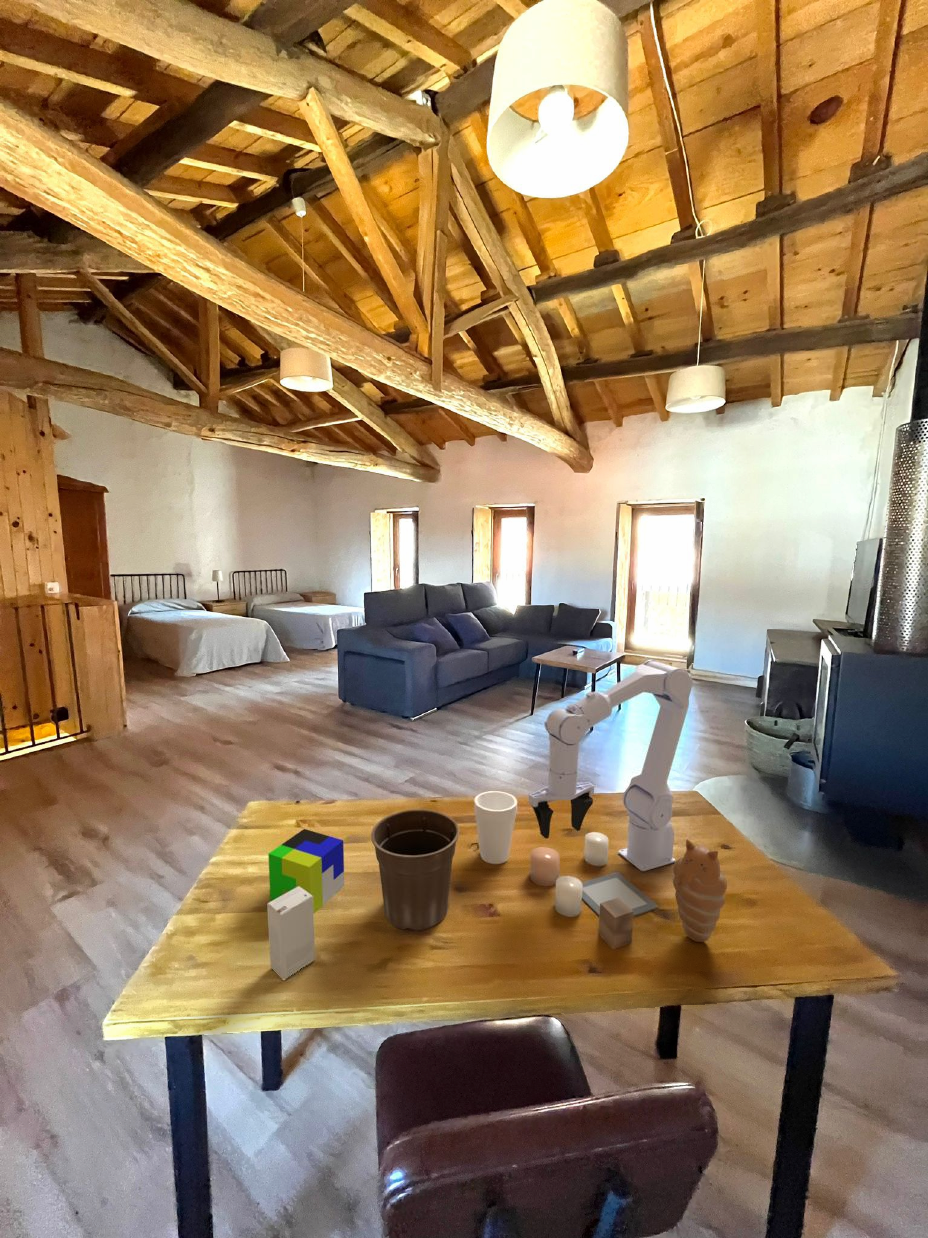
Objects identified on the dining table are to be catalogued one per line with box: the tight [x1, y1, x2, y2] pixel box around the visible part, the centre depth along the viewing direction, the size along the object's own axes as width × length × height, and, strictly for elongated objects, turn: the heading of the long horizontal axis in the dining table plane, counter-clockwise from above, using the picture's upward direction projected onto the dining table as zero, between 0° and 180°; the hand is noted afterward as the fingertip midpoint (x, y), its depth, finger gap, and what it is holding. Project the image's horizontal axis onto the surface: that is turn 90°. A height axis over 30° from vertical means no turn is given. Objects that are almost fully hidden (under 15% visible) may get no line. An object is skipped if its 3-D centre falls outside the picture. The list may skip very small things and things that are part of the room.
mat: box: [581, 871, 660, 918], centre depth 107 cm, size 12×12×1 cm
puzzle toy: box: [267, 828, 345, 915], centre depth 106 cm, size 10×10×10 cm
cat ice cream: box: [672, 839, 728, 943], centre depth 94 cm, size 9×8×18 cm
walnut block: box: [598, 898, 634, 950], centre depth 95 cm, size 4×4×6 cm
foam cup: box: [473, 790, 518, 865], centre depth 120 cm, size 10×9×13 cm
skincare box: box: [266, 886, 316, 980], centre depth 88 cm, size 6×4×12 cm
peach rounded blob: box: [529, 846, 560, 887], centre depth 113 cm, size 6×6×5 cm
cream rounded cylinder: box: [583, 831, 610, 867], centre depth 119 cm, size 5×5×5 cm
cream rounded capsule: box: [554, 875, 583, 918], centre depth 103 cm, size 5×5×5 cm
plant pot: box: [370, 808, 460, 932], centre depth 101 cm, size 16×16×16 cm
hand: (560, 832), depth 111 cm, fingers open, 7 cm apart
